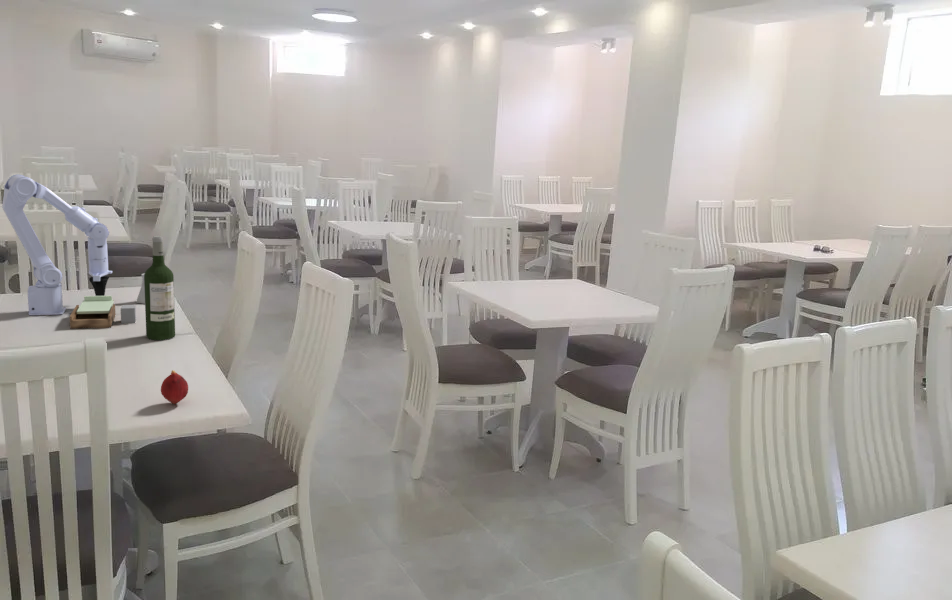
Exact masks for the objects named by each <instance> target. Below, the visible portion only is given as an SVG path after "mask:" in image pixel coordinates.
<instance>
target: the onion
mask: <svg viewBox="0 0 952 600" xmlns="http://www.w3.org/2000/svg"><path fill="white" fill-rule="evenodd" d="M170 372H171V373H170V374H169V375H167V376H166V377H165V378H164V380H163V381H162V383H161V385H160V394H161V395H162V397H163V398H164V399H165V400H166V401H168V402H169V403H171V404H172V405H177V404H178V403H180V402H181V401H183V400H184V399H185V398H186V397H187V395H188V393H189V384H188V381H187V380H186V379H185V378H184V377H183V375H181V374H178V373H177V372H176V371H175V370H171V371H170Z"/></svg>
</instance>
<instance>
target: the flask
mask: <svg viewBox="0 0 952 600" xmlns="http://www.w3.org/2000/svg"><path fill="white" fill-rule="evenodd" d="M144 274H145V272H144V273H141V279H142V280H141V286H140V289H139V292H138V296H137V299H136V303H137V304H144V305H145V288H144Z"/></svg>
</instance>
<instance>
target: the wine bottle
mask: <svg viewBox="0 0 952 600" xmlns="http://www.w3.org/2000/svg"><path fill="white" fill-rule="evenodd" d="M163 242H164V238H163V236H160V235H155V236H152V264H151V265H150V266H149V267H148V268H147V269H146V271H145V272H144V273H145V274H144V273H143V274H144V288H145V304H144V307H145V308H144V309H145V313H144V314H145V333H146V334H145V335H146V339H147V340H150V339H151V340H150V341H166V340H165V339H168V340H171V339H170V338H172V339H173V337H174V338H175V336H176V317H175V314H176V313H175V311H176V310H175V283H174V280H175V279H174V272H173V271H172V270H171V269H170V267H168V266H167V265H166V263H165V256H164V244H163Z"/></svg>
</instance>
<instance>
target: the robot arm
mask: <svg viewBox="0 0 952 600" xmlns="http://www.w3.org/2000/svg"><path fill="white" fill-rule="evenodd" d="M32 197H33V198H35V199H40V200H44V201H45V202H46V203H48V204H50V205H51V206H53V207H54V208H56V209H57V210H59V211H60V213H63V214H64V219H65V221H66V222H68V223H69V224H71V225H72V226H74V227H75V228H77V229H78V230H79V231H81V232H82V233H84V234H85V236H86V237H87V254H88V255H87V257H88V275H90V277H89V283H91V286H92V288H93V290H94V294H95V295H94V296H106V288H107V283H108V281H109V279H110V276H109V274H110V275H111V274H113V270H109V255H108V254H109V253H108V241H107V238H108V237H109V236H110V231H109V229H108V227H107V225H105V224H103V223H101V222H100V221H98V220H99V219H98V218H97V217H95V216H92V215H91V214H90V213H88V212H86V208H85V207H83V206H81V207H80V206H78V205H75V206H71V204H69V203H68V202H66V201H65V200H64V199H62V198H61V197H60V196H59V195H57V194H56V193H55V192H53V191H52V190H51V189H50V188H48V187H46V186H45V185H43V184H41V183H40V182H37V181H35V180H34V179H33V178H31V177H29V176H25V175H23V174H20V173H19V174H18V173H17V174H13V175H11V176H10V177H9V178H8V179H7V180H6V182H5V184H4V185H3V198H2V206H1V207H2V210H3V212H4V214H5V216H6V217H7V219H8V222H9V223H10V225H11V227H12V228H13V230H14V232H15V234H16V236H17V237H18V239H19V241H20V243H21V245H22V247H23V249H24V250H25V252H26V254H27V256H28V258H29V259H30V263H31V265H32V268H33V275H34V278H35V279H36V282H35V285H29V286H28V288H27V305H28V316H48V315H50V316H54V315H57V316H58V315H63V314H64V313H65V311H66V310H67V307H65V306H64V303H63V288H62V280H63V273H62V271H61V270H60V269H59V268H57V266H55V264H54V263H53V261H52V260H51V259H50V257H49V255H48V254H47V253H46V250H45V248H44V246H43V245H42V243H41V241H40V239H39V237H38V235H37V234H36V231H35V230H34V228H33V226H32V224H31V222H30V220H29V219H28V217H27V214H26V213H25V211H24V208H25V206H26V204H27V202H28V201H29V200H30V199H31V198H32Z"/></svg>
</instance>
